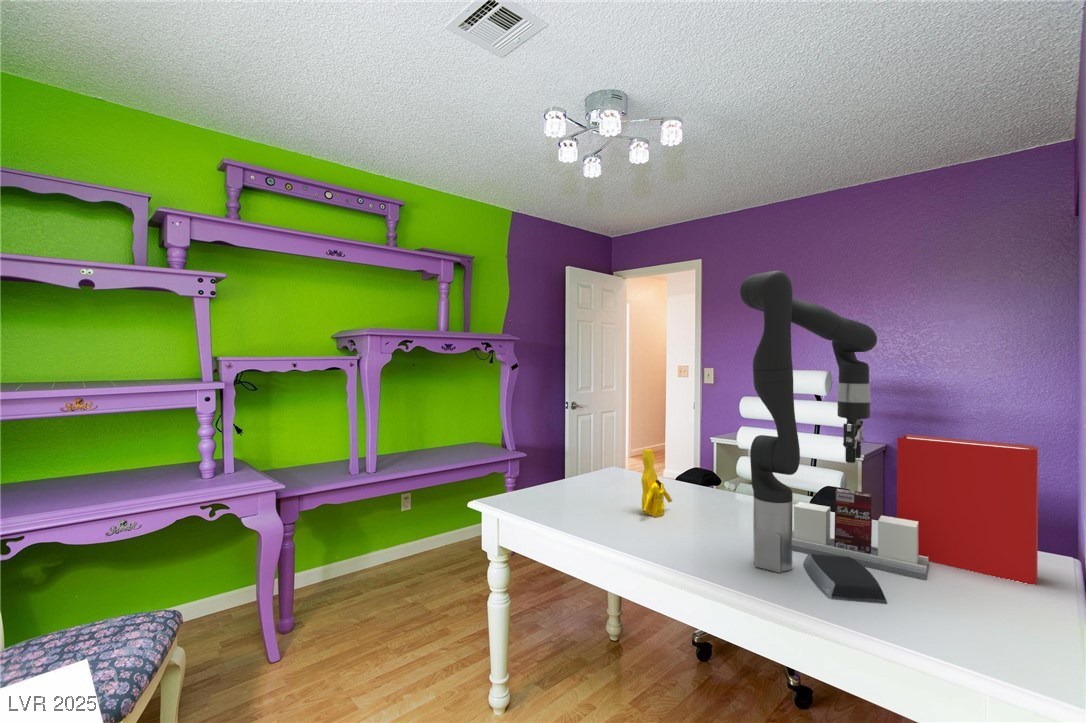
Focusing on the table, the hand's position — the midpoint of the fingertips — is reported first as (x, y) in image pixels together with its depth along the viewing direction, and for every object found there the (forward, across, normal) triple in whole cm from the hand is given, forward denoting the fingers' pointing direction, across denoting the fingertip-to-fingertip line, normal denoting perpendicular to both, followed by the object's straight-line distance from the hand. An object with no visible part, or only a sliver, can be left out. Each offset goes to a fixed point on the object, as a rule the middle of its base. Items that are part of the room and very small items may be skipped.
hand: (853, 460), depth 137 cm
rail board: (+26, 0, 0) cm, 26 cm away
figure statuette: (+26, -1, +59) cm, 65 cm away
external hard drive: (+27, -20, -1) cm, 34 cm away
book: (+26, +12, -23) cm, 37 cm away
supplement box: (+25, 0, 0) cm, 25 cm away
